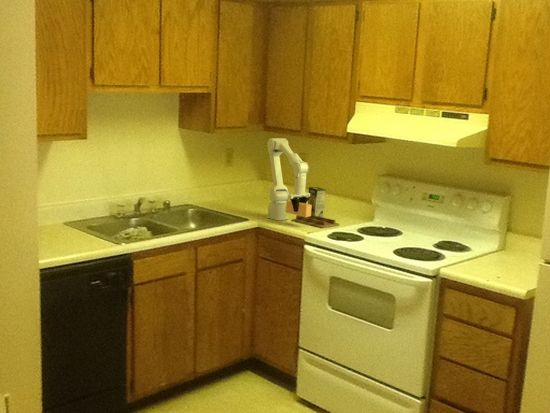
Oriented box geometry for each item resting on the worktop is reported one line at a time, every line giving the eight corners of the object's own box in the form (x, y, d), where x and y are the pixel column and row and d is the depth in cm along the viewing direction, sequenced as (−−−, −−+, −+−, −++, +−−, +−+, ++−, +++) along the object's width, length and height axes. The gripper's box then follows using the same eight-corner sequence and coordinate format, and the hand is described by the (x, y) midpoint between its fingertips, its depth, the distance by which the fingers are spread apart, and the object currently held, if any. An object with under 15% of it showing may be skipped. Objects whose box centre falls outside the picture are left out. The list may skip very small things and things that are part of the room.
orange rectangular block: (286, 212, 376) (286, 201, 375) (291, 211, 379) (291, 200, 378) (305, 217, 367) (306, 205, 365) (310, 216, 369) (311, 204, 368)
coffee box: (306, 215, 404) (308, 187, 401) (316, 214, 407) (318, 186, 404) (314, 218, 396) (316, 189, 394) (324, 217, 399) (326, 189, 396)
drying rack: (291, 221, 385) (291, 215, 384) (308, 218, 395) (309, 213, 394) (322, 228, 370) (322, 222, 369) (339, 225, 380) (339, 220, 379)
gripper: (296, 187, 362) (294, 213, 365) (315, 185, 372) (313, 211, 375) (286, 185, 367) (284, 211, 369) (305, 183, 377) (303, 208, 380)
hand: (298, 211), depth 372 cm, fingers closed on orange rectangular block, 4 cm apart
